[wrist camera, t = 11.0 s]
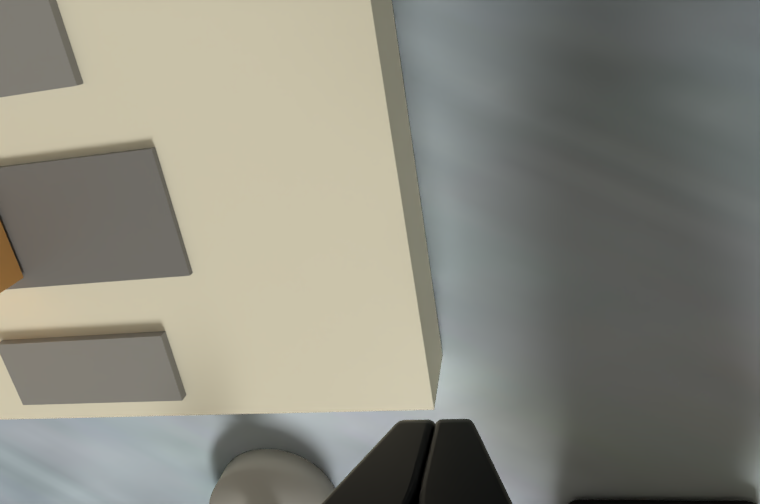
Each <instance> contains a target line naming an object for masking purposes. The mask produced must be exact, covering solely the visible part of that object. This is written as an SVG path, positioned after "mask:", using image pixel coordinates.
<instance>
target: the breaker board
mask: <svg viewBox="0 0 760 504" xmlns="http://www.w3.org/2000/svg"><path fill="white" fill-rule="evenodd" d="M0 221H1V223H2V226H3V228H4V231H5V233H6V236H7V238H8V240H9V243H10V245H11V248H12V250H13V253H14V255H15V257H16V260H17V262H18V265H19V267H20V270H21V272H22V274H23V277H24V278H22V279H21V280H19V281H18V282H16V283H15V284H13V285H12V286H10V287H9V288H7V289H6V290H4V291H3V292H1V293H0V419H42V418H87V417H131V416H175V415H220V414H264V413H309V412H353V411H397V410H434V407H435V400H436V394H437V388H438V381H439V375H440V369H441V362H442V356H443V354H442V347H441V340H440V333H439V326H438V319H437V312H436V305H435V298H434V291H433V284H432V277H431V270H430V263H429V256H428V250H427V243H426V236H425V229H424V222H423V215H422V208H421V201H420V194H419V187H418V180H417V173H416V166H415V159H414V152H413V145H412V138H411V131H410V124H409V117H408V110H407V103H406V96H405V89H404V82H403V75H402V68H401V61H400V54H399V47H398V40H397V33H396V26H395V19H394V13H393V6H392V0H0Z"/></svg>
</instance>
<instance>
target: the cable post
mask: <svg viewBox="0 0 760 504" xmlns="http://www.w3.org/2000/svg"><path fill="white" fill-rule="evenodd" d="M334 489H335V488H334V486H333V484H332V483H331V481H330V480H329V479H328V477H327V476H326V475H325V474H324V473H323V472H322V471H321V470H320V469H319V468H318V467H316V466H315V465H314V464H312V463H311V462H309V461H308V460H306V459H304V458H302V457H300V456H298V455H295V454H293V453H290V452H286V451H282V450H277V449H256V450H251V451H248V452H245V453H242V454H240V455H238V456H237V457H236V458H234V459H233V460H232V461H231V462H230V463H229V464H228V465H227V467H226V468H225V470H224V472H223V473H222V475H221V477H220V479H219V481H218V483H217V484H216V486H215V488H214V490H213V492H212V494H211V497H210V502H209V504H321V503H322V502H323V501H324V500H325V499H326V498H327V497H328V496H329V495H330V494H331V493H332V492H333V491H334Z"/></svg>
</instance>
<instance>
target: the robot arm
mask: <svg viewBox="0 0 760 504" xmlns="http://www.w3.org/2000/svg"><path fill="white" fill-rule="evenodd" d="M321 504H512V502H511V500H510V498H509V496H508V493H507V491H506V489H505V487H504V485H503V483H502V481H501V479H500V477H499V475H498V473H497V471H496V469H495V466H494V464H493V462H492V460H491V458H490V456H489V454H488V452H487V450H486V448H485V446H484V444H483V441H482V439H481V437H480V435H479V433H478V431H477V429H476V427H475V425H474V423H473V422H472V421H471V420H469V419H442V420H439V421H438V422H436V424H435V423H434V422H433V421H431V420H402V421H399V422H398V423H396V424H395V425H394V426H393V427H392V429H391V430H390V431H389V432H388V433H387V434H386V435H385V436H384V437H383V438H382V439H381V440H380V441H379V442H378V443H377V445H376V446H375V447H374V448H373V449H372V450H371V451H370V452H369V453H368V454H367V455H366V456H365V457H364V458H363V460H362V461H361V462H360V463H359V464H358V465H357V466H356V467H355V468H354V469H353V470H352V471H351V472H350V473H349V474H348V476H347V477H346V478H345V479H344V480H343V481H342V482H341V483H340V484H339V485H338V486H337V487H336V488H335V489H334V491H333V492H332V493H331V494H330V495H329V496H328V497H327V498H326V499H325V500H324V501H323V502H322V503H321ZM569 504H755V503H753V502H749V501H672V500H574V501H572V502H570V503H569Z"/></svg>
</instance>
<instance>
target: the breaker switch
mask: <svg viewBox="0 0 760 504" xmlns="http://www.w3.org/2000/svg"><path fill="white" fill-rule="evenodd" d="M22 278H24V277H23V274H22V272H21V270H20V267H19V265H18V262H17V260H16V257H15V255H14V253H13V250H12V248H11V245H10V243H9V240H8V238H7V236H6V233H5V231H4V228H3V226H2V223H1V221H0V293H1V292H3V291H4V290H6V289H7V288H9V287H10V286H12V285H13V284H15V283H16V282H18V281H19V280H21V279H22Z"/></svg>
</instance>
